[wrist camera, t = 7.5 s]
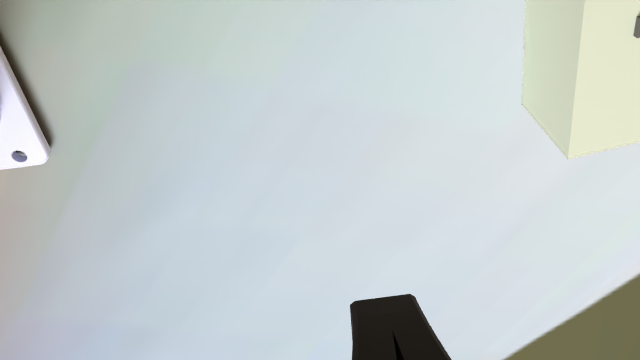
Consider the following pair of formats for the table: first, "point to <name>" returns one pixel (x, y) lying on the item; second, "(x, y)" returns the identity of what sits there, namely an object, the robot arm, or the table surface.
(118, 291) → the table surface
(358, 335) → the robot arm
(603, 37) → the numbered block seven
